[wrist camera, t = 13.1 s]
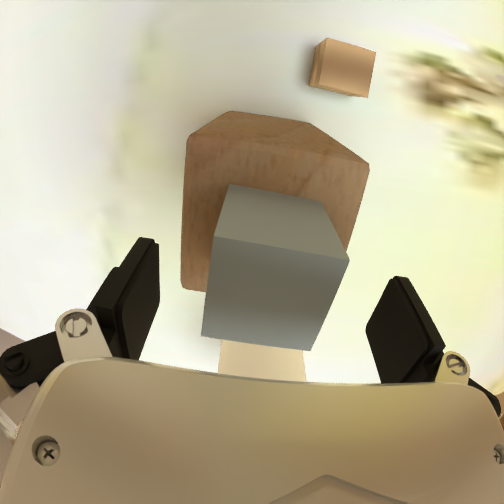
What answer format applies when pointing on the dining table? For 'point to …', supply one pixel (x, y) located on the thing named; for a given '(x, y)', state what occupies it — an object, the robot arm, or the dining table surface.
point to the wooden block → (262, 178)
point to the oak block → (342, 68)
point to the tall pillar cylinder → (261, 361)
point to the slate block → (272, 270)
